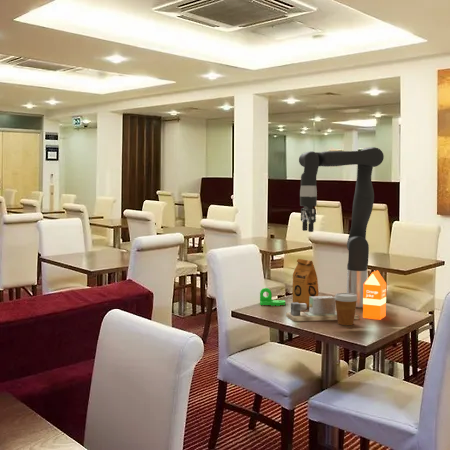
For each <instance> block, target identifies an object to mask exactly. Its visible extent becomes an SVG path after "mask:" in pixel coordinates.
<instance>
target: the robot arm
mask: <svg viewBox="0 0 450 450" xmlns="http://www.w3.org/2000/svg"><path fill="white" fill-rule="evenodd" d="M384 157H385V155H384V153H383V150H381V149H380V148H378V147H376V146H371V147H364V148H362V149H361V150H328V151H327V150H326V151H325V150H324V151H321V152H320V151H319V152H315V151H305V152H303V153H301V155H300V156H299V157H298V163H299V165H300V166H301V167H303V173H301V175H300V189H299V206H300V207H302V208H301V209H300V221H301V222H302V228H301V229H302V231H304V232H306V231H307V232H309V233H314V225H315V223H316V220H317V219H316V218H317V217H316V216H317V214H316V210H317V209H316V208H314V207H316V206H317V203H318V200H317V199H318V198H317V197H318V195H317V194H318V193H317V192H318V190H317V175H318V171H319V167H328V168H329V167H341V166H352V165H353V166H354V165H357V168H356V169H357V173H356V181H355V190H354V195H353V201H352V210H351V211H352V213H351V225H350V226H351V227H350V231H349V234H348V238H347V242H346V248H347V251H348V261H347V267H346V271H347V272H346V293H352V294H356V295H357V298H358V299H357V302H356V308H363V285H364V283H365V282H366V280H367V279H368V265H369V255H370V254H369V251H370V250H369V247H370V245H369V242H368V240H367V227H368V223H369V221H370V218H371V215H372V212H373V207H374V201H375V192H374V187H373V183H372V174H373V168H375V167H378V166H379V165H381V164H382V163H383V161H384Z"/></svg>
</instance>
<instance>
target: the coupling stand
mask: <svg viewBox="0 0 450 450" xmlns="http://www.w3.org/2000/svg"><path fill="white" fill-rule="evenodd" d="M285 317H286V318H288V319H290V320H292V322H313V321H338V320H337V311H336V310H335V314H325V315H312V314H311V313H309V311H307V304H305V303H298V302H293V301H292V302H290V312H289V311H287V312H286V313H285ZM354 320H360V315H358V314H356V313H355V316H354Z"/></svg>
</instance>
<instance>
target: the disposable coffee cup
mask: <svg viewBox="0 0 450 450" xmlns="http://www.w3.org/2000/svg"><path fill="white" fill-rule="evenodd" d="M333 297H334V298H335V302H336V304H335V311H337V320H336V321H337V324H338V325H339V326H340V325H341V326H353V325H354V322H355V319H354V316H355V314H356V309H357V307H356V302H357V299H358V298H357V295H356V294H352V293H347V292H337V293H335V295H334V296H333Z"/></svg>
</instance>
